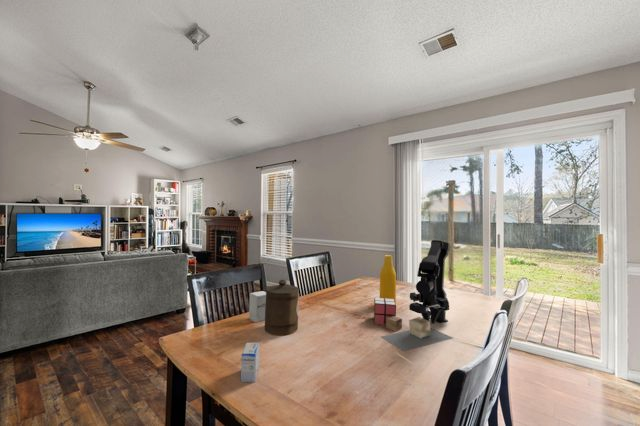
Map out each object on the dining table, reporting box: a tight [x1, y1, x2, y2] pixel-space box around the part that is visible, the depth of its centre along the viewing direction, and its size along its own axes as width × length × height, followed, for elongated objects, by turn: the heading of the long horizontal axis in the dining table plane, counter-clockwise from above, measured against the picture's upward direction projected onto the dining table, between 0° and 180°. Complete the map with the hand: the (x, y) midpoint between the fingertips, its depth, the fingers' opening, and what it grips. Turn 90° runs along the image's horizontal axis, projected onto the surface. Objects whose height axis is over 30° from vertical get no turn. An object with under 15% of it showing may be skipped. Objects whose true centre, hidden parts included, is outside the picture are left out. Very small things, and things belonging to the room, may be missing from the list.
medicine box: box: [240, 342, 260, 383], centre depth 89 cm, size 8×4×9 cm, turn 5°
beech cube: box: [408, 316, 431, 339], centre depth 121 cm, size 6×6×6 cm
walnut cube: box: [385, 315, 403, 332], centre depth 129 cm, size 5×5×5 cm
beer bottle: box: [379, 254, 397, 305], centre depth 163 cm, size 9×9×29 cm
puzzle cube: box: [373, 297, 397, 325], centre depth 138 cm, size 10×10×10 cm
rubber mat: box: [380, 327, 454, 352], centre depth 119 cm, size 28×14×1 cm, turn 117°
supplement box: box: [248, 290, 266, 323], centre depth 138 cm, size 7×7×13 cm
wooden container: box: [264, 279, 299, 336], centre depth 127 cm, size 15×15×22 cm
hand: (429, 324), depth 124 cm, fingers open, 3 cm apart
